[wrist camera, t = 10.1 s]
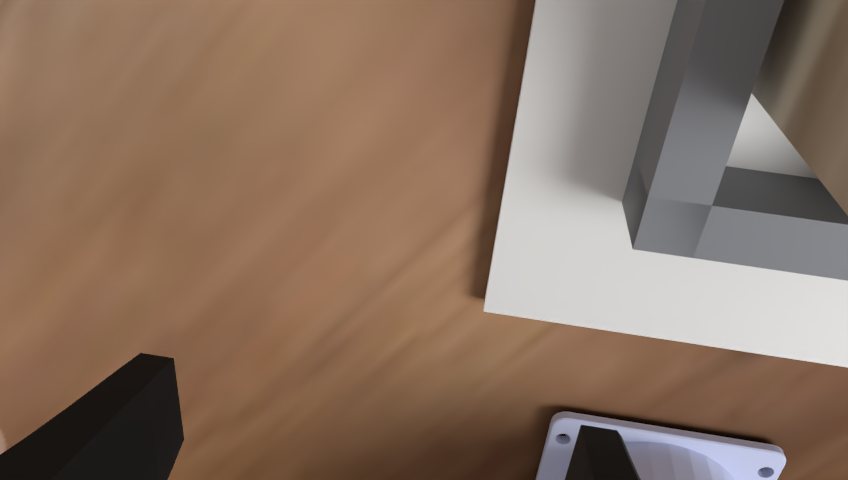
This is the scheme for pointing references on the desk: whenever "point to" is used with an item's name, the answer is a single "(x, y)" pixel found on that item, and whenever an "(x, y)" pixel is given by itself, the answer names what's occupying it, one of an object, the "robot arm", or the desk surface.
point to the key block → (811, 87)
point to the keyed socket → (665, 186)
